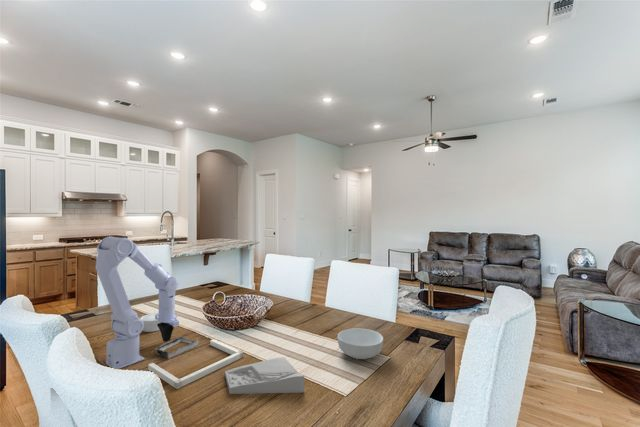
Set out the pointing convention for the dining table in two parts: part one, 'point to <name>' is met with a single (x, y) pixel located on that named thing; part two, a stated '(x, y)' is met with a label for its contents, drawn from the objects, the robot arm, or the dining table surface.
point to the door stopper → (265, 378)
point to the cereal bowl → (360, 343)
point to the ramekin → (150, 322)
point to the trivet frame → (202, 372)
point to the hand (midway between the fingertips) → (166, 340)
